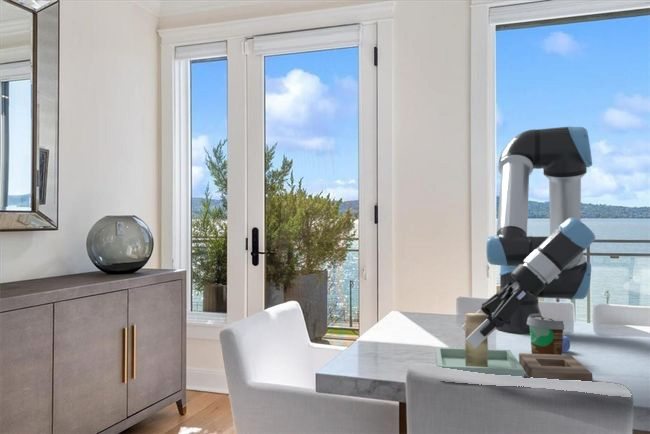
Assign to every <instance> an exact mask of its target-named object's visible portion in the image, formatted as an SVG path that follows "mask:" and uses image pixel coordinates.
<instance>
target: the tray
mask: <svg viewBox="0 0 650 434" xmlns="http://www.w3.org/2000/svg"><path fill="white" fill-rule="evenodd" d="M435 362H436V363H435V364H436V367H437V366H438V367H442V368H450V369H457V370H463V371H470V372H478V373H485V374H495V375H511V376H522V377H524V378H525V371H524V369H523V367H522V366H521V365H520V363H519V360H518V359H517V358H516V356H515V355H514V354H513V352H512V351H511V350H510V349H497V348H496V349H493V348H492V349H491V348H490V349H489V348H488V367H475V366H466V359H465V348H464V347H463V348H461V347H460V348H459V347H438V346H436V347H435Z"/></svg>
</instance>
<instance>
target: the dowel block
mask: <svg viewBox="0 0 650 434" xmlns="http://www.w3.org/2000/svg"><path fill="white" fill-rule="evenodd" d="M518 362H519V363H520V365H521V366H522V367H523V369H524V373H525V374H526V375H527V377H528V378H529V377H533V378H547V379H559V380H581V381H593V373H592V372H591V370H589V369H588V368H587V367H585V366H584V365H583V364H582V363H581V362H580V361H579V360H577V358H575V357H574V356H573V355H571V354H562V355H554V354H532V353H521V352H520V353H518ZM593 382H594V381H593Z"/></svg>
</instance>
